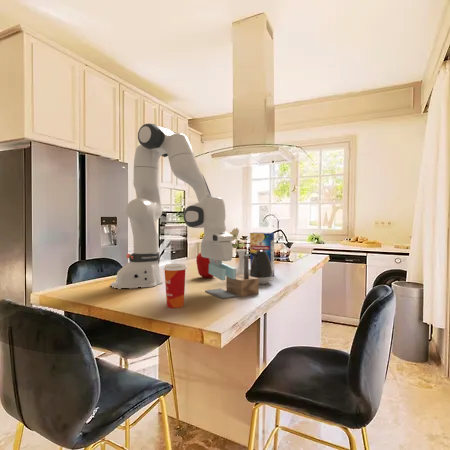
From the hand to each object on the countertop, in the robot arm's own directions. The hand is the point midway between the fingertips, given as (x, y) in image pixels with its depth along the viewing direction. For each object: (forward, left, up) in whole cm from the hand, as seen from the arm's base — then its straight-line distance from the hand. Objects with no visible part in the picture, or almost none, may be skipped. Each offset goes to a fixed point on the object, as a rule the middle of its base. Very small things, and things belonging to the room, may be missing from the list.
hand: (215, 270), depth 127 cm
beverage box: (+38, +19, -9) cm, 44 cm away
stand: (+8, -7, -9) cm, 14 cm away
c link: (0, -4, -2) cm, 5 cm away
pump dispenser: (+25, +3, -9) cm, 27 cm away
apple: (+11, +29, -9) cm, 33 cm away
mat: (0, -5, -9) cm, 10 cm away
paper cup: (-22, -11, -9) cm, 26 cm away
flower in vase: (+25, +20, -9) cm, 34 cm away
